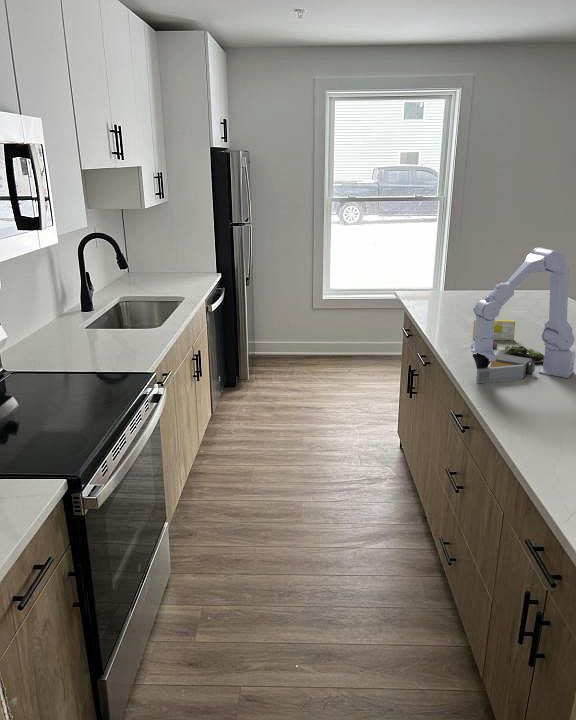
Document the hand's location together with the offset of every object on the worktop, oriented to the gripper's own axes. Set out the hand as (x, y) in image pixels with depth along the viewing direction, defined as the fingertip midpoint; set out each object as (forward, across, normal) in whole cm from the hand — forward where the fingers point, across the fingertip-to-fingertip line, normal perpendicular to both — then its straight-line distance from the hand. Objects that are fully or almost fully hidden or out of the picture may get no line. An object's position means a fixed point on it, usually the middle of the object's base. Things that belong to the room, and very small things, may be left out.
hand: (481, 375), depth 199 cm
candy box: (+2, -45, +26) cm, 52 cm away
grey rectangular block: (+2, -6, +14) cm, 15 cm away
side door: (+2, +2, +6) cm, 7 cm away
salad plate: (+3, -19, +25) cm, 31 cm away
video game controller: (+2, -32, +17) cm, 36 cm away
